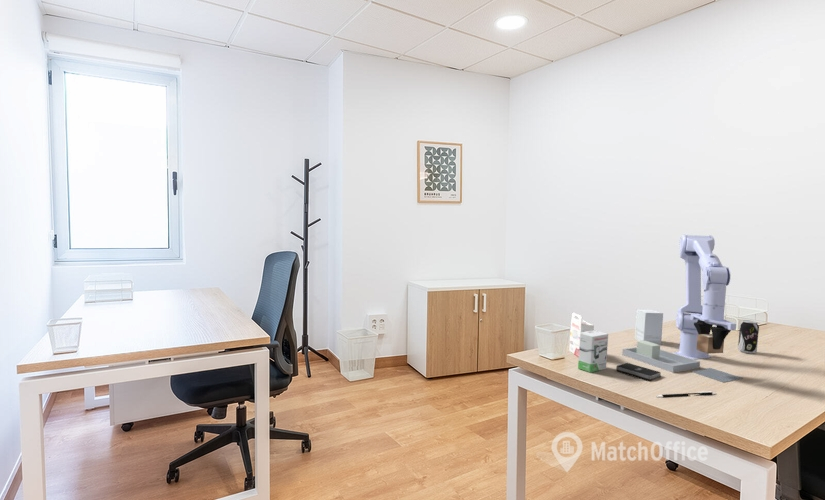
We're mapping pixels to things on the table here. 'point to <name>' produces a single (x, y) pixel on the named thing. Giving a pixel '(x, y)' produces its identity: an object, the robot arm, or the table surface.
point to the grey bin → (664, 360)
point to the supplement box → (649, 326)
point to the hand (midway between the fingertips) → (710, 346)
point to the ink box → (593, 351)
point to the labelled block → (707, 344)
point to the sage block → (648, 349)
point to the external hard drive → (638, 371)
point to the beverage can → (748, 336)
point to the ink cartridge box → (577, 332)
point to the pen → (686, 394)
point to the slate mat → (717, 375)
